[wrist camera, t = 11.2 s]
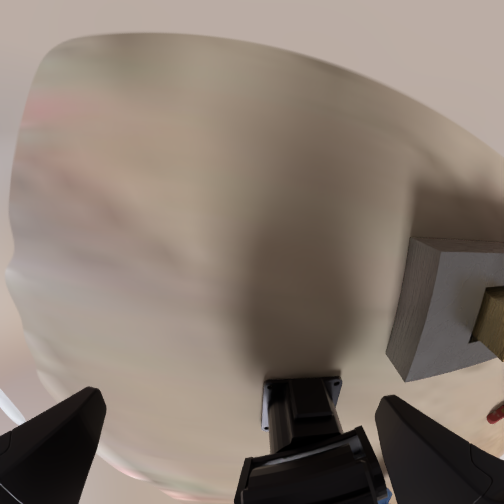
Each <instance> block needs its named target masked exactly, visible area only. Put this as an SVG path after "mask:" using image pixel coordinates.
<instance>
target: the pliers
mask: <svg viewBox="0 0 504 504" xmlns="http://www.w3.org/2000/svg"><path fill="white" fill-rule="evenodd" d="M502 418H504V405H503V406H502V407H500V408H499V409H497V410H496V411H494V412H492V413H491V414H489V415H488V416H487V421H488V422H489V423H490V424H494V423H496V422H498V421H499V420H501V419H502Z"/></svg>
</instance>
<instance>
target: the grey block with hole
mask: <svg viewBox="0 0 504 504" xmlns="http://www.w3.org/2000/svg"><path fill="white" fill-rule="evenodd" d="M495 286H503V287H504V242H489V241H473V240H457V239H438V238H419V237H410V242H409V250H408V256H407V263H406V269H405V274H404V280H403V285H402V290H401V295H400V300H399V304H398V309H397V313H396V317H395V321H394V325H393V329H392V333H391V337H390V341H389V344H388V348H387V351H386V355H387V356H388V358H389V359H390V361H391V362H392V364H393V365H394V367H395V368H396V370H397V371H398V373H399V374H400V376H401V377H402V379H403V380H404V382H410V381H415V380H419V379H424V378H428V377H432V376H436V375H440V374H444V373H448V372H452V371H455V370H459V369H463V368H466V367H469V366H472V365H476V364H479V363H482V362H485V361H488V360H491V359H494V358H496V357H497V356H496V355H495V354H494V353H492V352H491V351H490V350H489V349H488V348H487V347H486V346H485V345H484V344H483V343H481V342H480V341H479V340H478V339H477V338H476V337H475V336H473V335H472V331H473V328H474V325H475V322H476V319H477V316H478V313H479V309H480V306H481V303H482V299H483V296H484V292H485V288H486V287H495Z"/></svg>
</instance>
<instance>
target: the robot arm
mask: <svg viewBox="0 0 504 504" xmlns="http://www.w3.org/2000/svg"><path fill="white" fill-rule="evenodd" d="M337 381H338V382H337ZM335 382H337V383H335ZM269 385H272V386H269ZM341 386H342V380H341V378H340V377H339V376H335V377H322V378H306V379H279V380H267V381H265V382H264V391H263V407H262V422H261V429H262V430H263V431H269V439H270V453H271V454H270V455H265V456H260V457H255V458H253V457H249V458H245V461H244V465H243V467H242V471H241V475H240V479H239V483H238V487H237V491H236V494H235V498H234V504H378V501H380V500H382V499H385V498H387V497H388V493H387V488H386V484H385V480H384V477H383V474H382V471H381V468H380V465H379V462H378V460H377V457H376V455H375V453H374V451H373V449H372V446H371V444H370V442H369V440H368V438H367V436H366V434H365V431H364V429H363V427H362V425H361V426H359V427H356V428H355V429H354V430H351V431H349V432H346V433H343V430H342V427H341V424H340V421H339V418H338V415H337V412H336V409H335V408H336V404H337V401H338V397H339V394H340V390H341ZM105 415H106V404H105V402H104V399H103V396H102V394H101V391H100V390H99V389H98V388H94V387H86V388H84V389H82V390H81V391H79V392H77V393H76V394H74V395H72V396H71V397H69V398H67V399H65V400H64V401H62V402H60V403H58V404H57V405H55V406H53V407H52V408H50V409H48V410H46V411H45V412H43V413H41V414H39V415H38V416H36V417H34V418H32V419H31V420H29V421H27V422H25V423H23V424H21V425H20V426H18V427H16V428H14V429H13V430H12V431H9V432H7V433H5V434H3V435H1V436H0V504H78V503H79V500H80V497H81V494H82V491H83V488H84V485H85V481H86V479H87V476H88V473H89V470H90V467H91V464H92V461H93V459H94V456H95V453H96V450H97V447H98V443H99V439H100V435H101V431H102V427H103V423H104V419H105ZM375 421H376V426H377V431H378V435H379V440H380V445H381V450H382V455H383V458H384V462H385V465H386V468H387V471H388V474H389V477H390V480H391V484H392V487H393V490H394V494H395V497H396V500H397V504H504V460H501V459H499V458H497V457H495V456H493V455H491V454H489V453H487V452H485V451H483V450H481V449H480V448H478V447H476V446H475V445H473V444H470V443H469V442H468V441H466V440H465V439H463V438H461V437H460V436H458V435H456V434H455V433H453V432H452V431H450V430H448V429H447V428H445V427H444V426H442V425H441V424H439V423H437V422H436V421H434V420H433V419H431V418H430V417H428V416H426V415H425V414H423V413H422V412H420V411H419V410H417V409H416V408H414V407H413V406H411V405H410V404H408V403H407V402H405V401H404V400H402V399H401V398H399V397H398V396H396V395H388V396H384V397H382V399H381V401H380V403H379V406H378V408H377V410H376V413H375Z"/></svg>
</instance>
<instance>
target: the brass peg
mask: <svg viewBox="0 0 504 504" xmlns="http://www.w3.org/2000/svg"><path fill="white" fill-rule="evenodd" d="M472 335H473V336H475V337H476V338H477V339H478V340H479V341H480V342H481V343H483V344H484V345H485V346H486V347H487V348H488V349H489V350H490V351H491V352H492V353H494V354H495V355H496V356H497V357H498V358H499V359H500V360H501V361H502V362H504V287H503V286H495V287H486V288H485V292H484V296H483V299H482V303H481V306H480V309H479V313H478V316H477V319H476V322H475V325H474V328H473V331H472Z"/></svg>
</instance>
